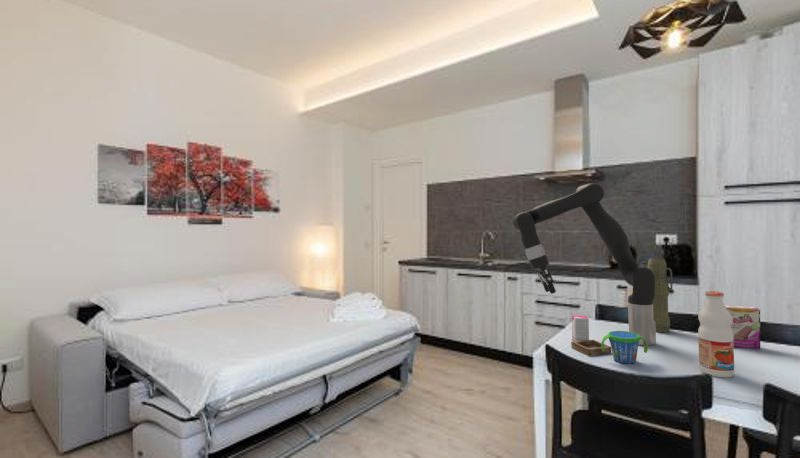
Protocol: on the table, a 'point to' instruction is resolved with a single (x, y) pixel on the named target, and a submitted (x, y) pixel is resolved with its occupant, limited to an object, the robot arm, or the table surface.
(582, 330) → the supplement box
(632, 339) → the snack cup
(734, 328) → the candy bar box
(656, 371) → the table surface
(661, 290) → the thermos
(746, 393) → the table surface
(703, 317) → the fruit juice
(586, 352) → the wooden square frame
